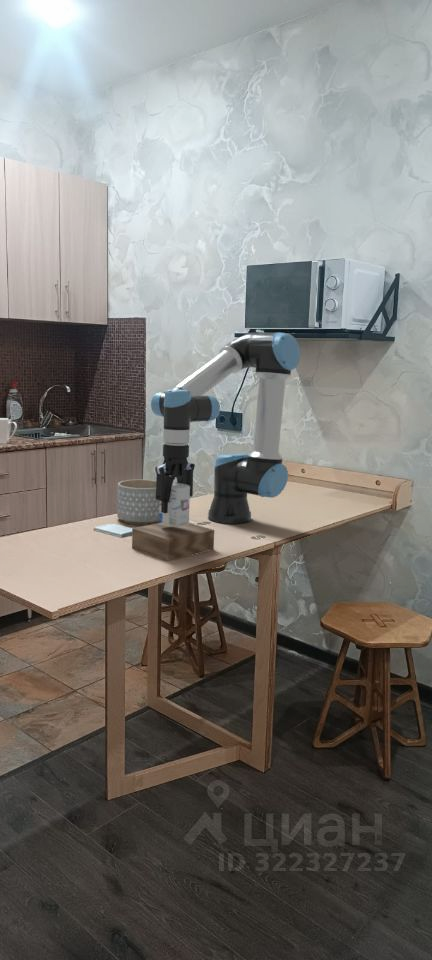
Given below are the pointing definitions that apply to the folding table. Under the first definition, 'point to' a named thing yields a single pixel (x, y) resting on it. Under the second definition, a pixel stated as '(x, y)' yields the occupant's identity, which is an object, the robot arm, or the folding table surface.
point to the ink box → (178, 504)
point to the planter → (138, 502)
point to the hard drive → (114, 530)
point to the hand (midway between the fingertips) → (173, 522)
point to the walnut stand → (172, 540)
